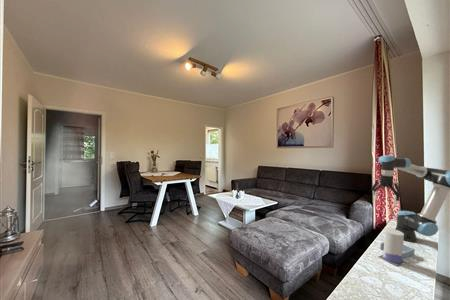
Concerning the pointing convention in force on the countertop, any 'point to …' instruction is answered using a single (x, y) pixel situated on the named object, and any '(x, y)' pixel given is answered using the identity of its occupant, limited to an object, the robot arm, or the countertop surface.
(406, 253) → the cradle
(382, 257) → the mat
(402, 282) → the countertop surface
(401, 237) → the container
